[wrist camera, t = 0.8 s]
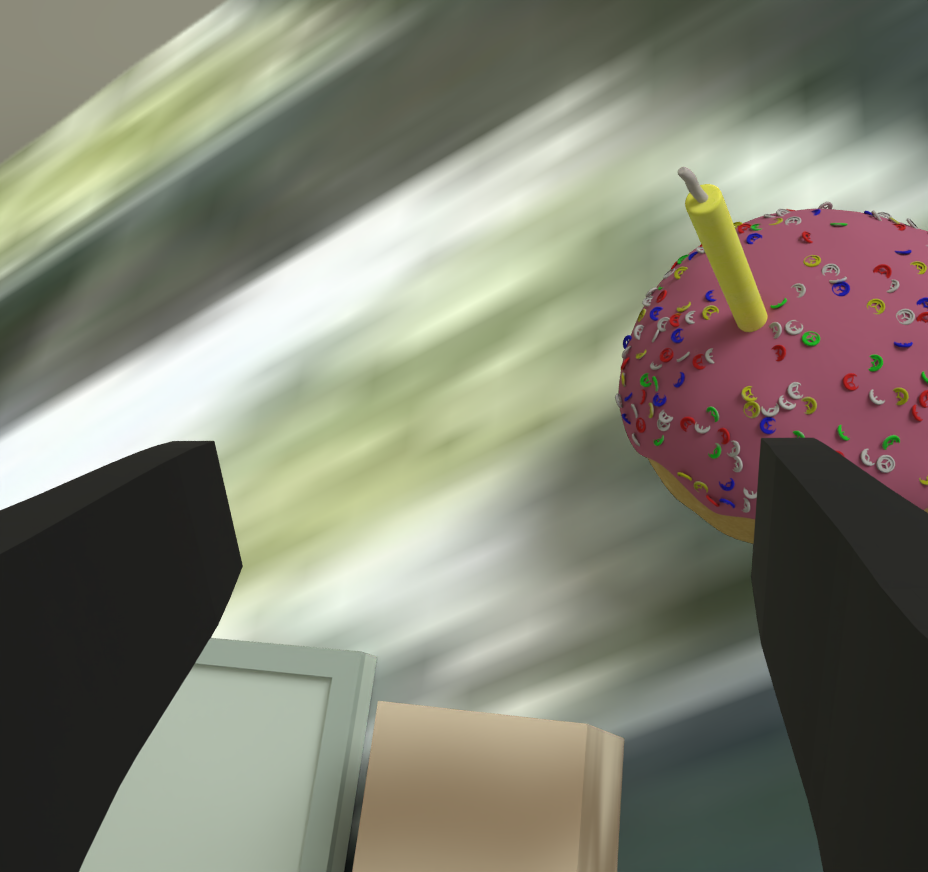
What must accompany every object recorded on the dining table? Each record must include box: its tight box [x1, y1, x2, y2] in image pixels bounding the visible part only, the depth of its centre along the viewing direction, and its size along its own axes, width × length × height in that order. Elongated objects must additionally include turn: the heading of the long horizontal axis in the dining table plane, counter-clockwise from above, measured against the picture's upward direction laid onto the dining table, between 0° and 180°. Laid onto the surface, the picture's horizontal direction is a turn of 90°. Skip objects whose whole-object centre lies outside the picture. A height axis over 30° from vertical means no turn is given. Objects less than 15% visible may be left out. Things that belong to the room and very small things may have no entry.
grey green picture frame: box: [79, 638, 377, 872], centre depth 25 cm, size 12×10×1 cm
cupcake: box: [615, 167, 928, 544], centre depth 19 cm, size 9×8×12 cm
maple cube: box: [352, 701, 624, 872], centre depth 21 cm, size 5×5×5 cm
